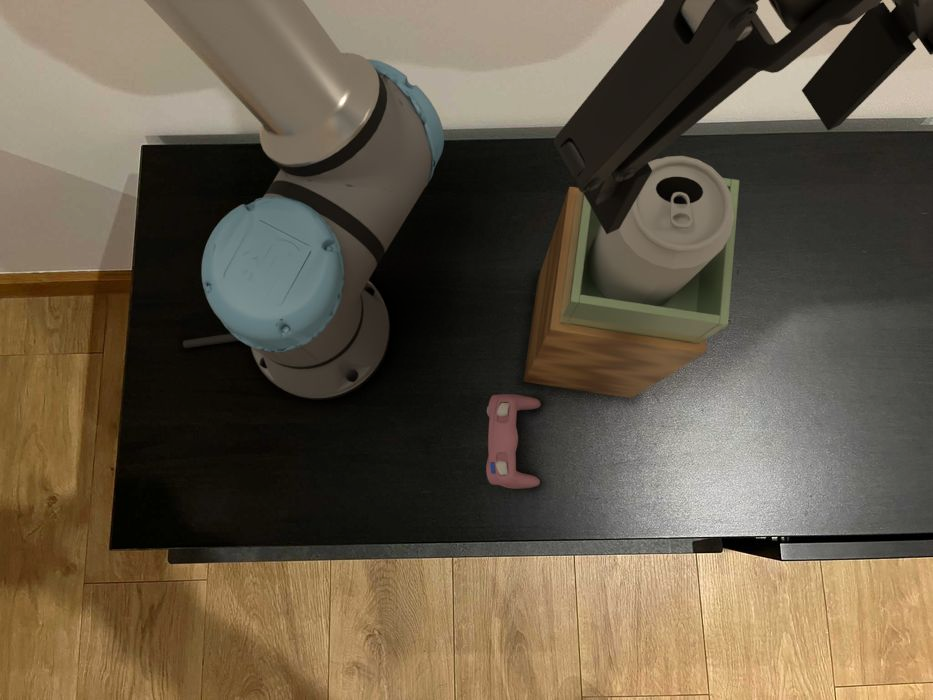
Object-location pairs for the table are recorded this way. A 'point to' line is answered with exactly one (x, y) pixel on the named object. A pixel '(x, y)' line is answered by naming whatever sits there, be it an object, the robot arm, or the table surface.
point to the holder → (678, 319)
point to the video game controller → (507, 441)
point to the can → (664, 233)
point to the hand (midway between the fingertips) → (712, 158)
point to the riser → (592, 338)
